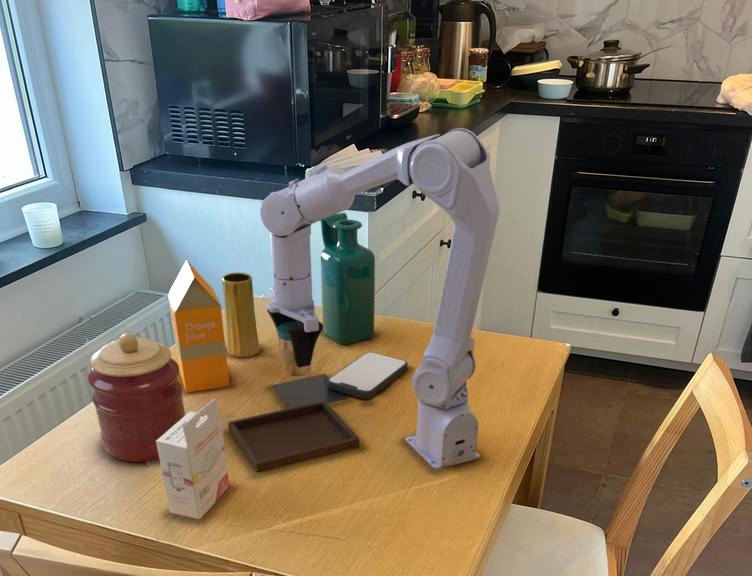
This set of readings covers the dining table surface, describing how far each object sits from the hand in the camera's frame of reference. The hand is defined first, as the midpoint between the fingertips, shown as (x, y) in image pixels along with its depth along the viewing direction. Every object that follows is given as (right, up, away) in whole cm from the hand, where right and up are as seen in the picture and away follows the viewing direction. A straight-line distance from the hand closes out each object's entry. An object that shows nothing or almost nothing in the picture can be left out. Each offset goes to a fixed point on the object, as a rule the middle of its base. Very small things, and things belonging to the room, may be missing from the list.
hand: (296, 358), depth 122 cm
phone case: (+11, -1, +14) cm, 18 cm away
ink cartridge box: (-12, -23, -16) cm, 30 cm away
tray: (0, -13, -2) cm, 14 cm away
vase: (-12, +6, +24) cm, 28 cm away
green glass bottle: (+7, +10, +31) cm, 33 cm away
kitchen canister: (-23, -14, -3) cm, 27 cm away
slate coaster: (+1, -4, +10) cm, 11 cm away
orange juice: (-18, -1, +15) cm, 23 cm away
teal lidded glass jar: (0, -2, +1) cm, 2 cm away
